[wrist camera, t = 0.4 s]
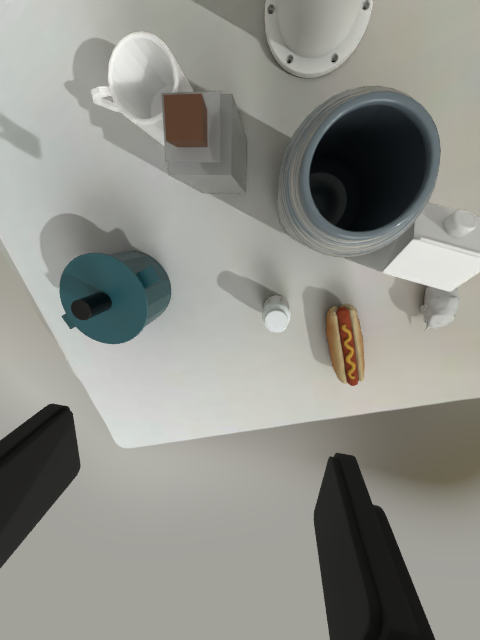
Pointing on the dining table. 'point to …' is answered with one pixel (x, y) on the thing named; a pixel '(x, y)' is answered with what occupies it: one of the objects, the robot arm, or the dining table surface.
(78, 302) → the lid
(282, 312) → the pill bottle
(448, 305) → the figurine
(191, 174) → the perfume bottle
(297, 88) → the dining table surface
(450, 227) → the milk carton
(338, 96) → the vase
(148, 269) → the pot
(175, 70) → the mug
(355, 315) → the food
